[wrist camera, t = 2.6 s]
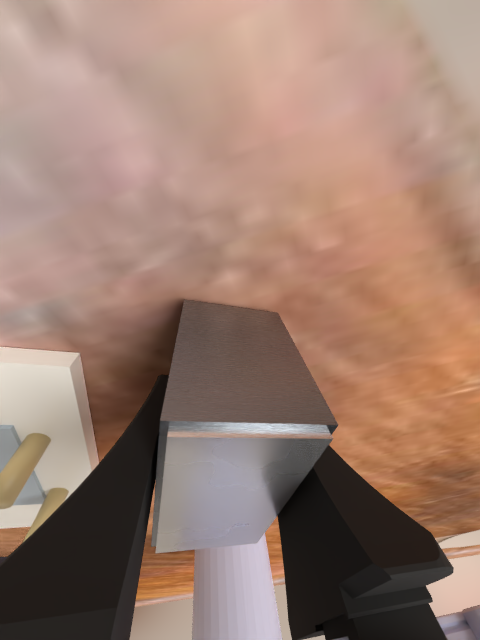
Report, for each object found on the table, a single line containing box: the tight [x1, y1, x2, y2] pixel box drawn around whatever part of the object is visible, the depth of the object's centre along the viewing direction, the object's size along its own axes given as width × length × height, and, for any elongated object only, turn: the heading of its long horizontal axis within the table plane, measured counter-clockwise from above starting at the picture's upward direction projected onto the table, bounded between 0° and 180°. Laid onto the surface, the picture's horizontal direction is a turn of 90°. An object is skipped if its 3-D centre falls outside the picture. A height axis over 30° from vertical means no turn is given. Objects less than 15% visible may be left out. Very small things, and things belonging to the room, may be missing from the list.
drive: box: [151, 300, 338, 553], centre depth 10 cm, size 8×4×6 cm, turn 167°
